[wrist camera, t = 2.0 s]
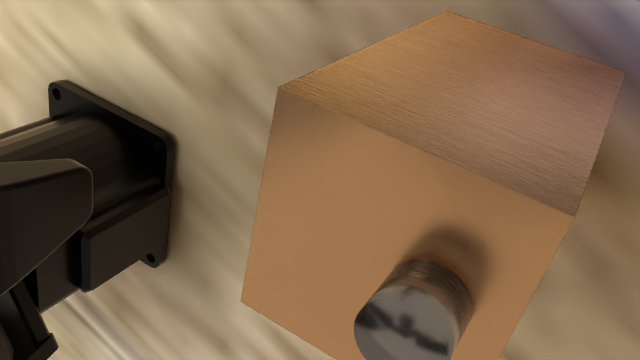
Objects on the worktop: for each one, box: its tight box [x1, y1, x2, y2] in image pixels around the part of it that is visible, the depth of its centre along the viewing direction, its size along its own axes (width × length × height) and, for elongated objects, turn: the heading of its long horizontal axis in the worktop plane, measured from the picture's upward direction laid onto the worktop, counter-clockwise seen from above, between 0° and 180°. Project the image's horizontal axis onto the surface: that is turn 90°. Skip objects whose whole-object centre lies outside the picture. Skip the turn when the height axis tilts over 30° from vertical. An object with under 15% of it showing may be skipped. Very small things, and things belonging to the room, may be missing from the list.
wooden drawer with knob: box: [241, 11, 626, 360], centre depth 12 cm, size 5×5×9 cm
